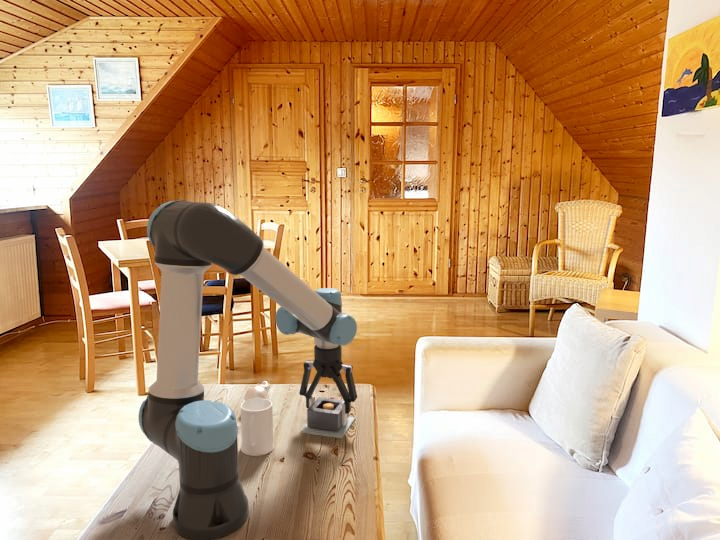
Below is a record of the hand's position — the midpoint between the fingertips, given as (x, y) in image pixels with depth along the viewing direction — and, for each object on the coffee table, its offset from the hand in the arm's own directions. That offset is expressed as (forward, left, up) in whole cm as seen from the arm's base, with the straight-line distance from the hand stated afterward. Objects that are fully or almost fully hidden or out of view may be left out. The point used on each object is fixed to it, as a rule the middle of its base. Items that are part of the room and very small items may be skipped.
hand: (328, 421), depth 154 cm
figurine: (+7, +25, -2) cm, 26 cm away
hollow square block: (0, 0, 0) cm, 0 cm away
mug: (-19, +13, -2) cm, 23 cm away
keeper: (0, 0, -1) cm, 1 cm away
